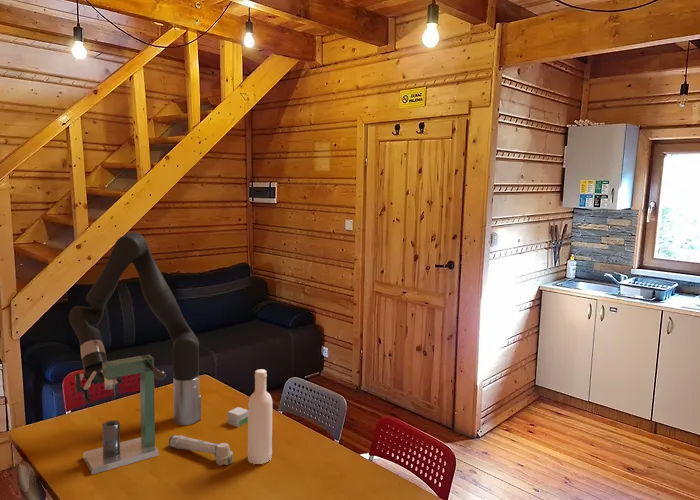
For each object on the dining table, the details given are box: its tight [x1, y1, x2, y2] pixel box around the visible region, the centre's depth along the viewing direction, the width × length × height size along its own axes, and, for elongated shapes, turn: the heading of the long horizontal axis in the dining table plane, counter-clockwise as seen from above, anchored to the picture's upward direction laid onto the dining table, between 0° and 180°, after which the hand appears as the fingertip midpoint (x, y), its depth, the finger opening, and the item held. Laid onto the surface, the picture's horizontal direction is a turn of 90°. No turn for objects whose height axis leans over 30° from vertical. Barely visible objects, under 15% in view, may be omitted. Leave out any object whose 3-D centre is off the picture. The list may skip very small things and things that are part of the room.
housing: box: [101, 419, 121, 457], centre depth 164 cm, size 5×5×10 cm
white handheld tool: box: [168, 434, 234, 466], centre depth 170 cm, size 5×7×25 cm
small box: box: [227, 406, 248, 428], centre depth 194 cm, size 6×6×5 cm
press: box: [82, 354, 167, 475], centre depth 162 cm, size 20×21×32 cm
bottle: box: [247, 368, 273, 465], centre depth 167 cm, size 8×8×30 cm
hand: (102, 398), depth 171 cm, fingers open, 8 cm apart
